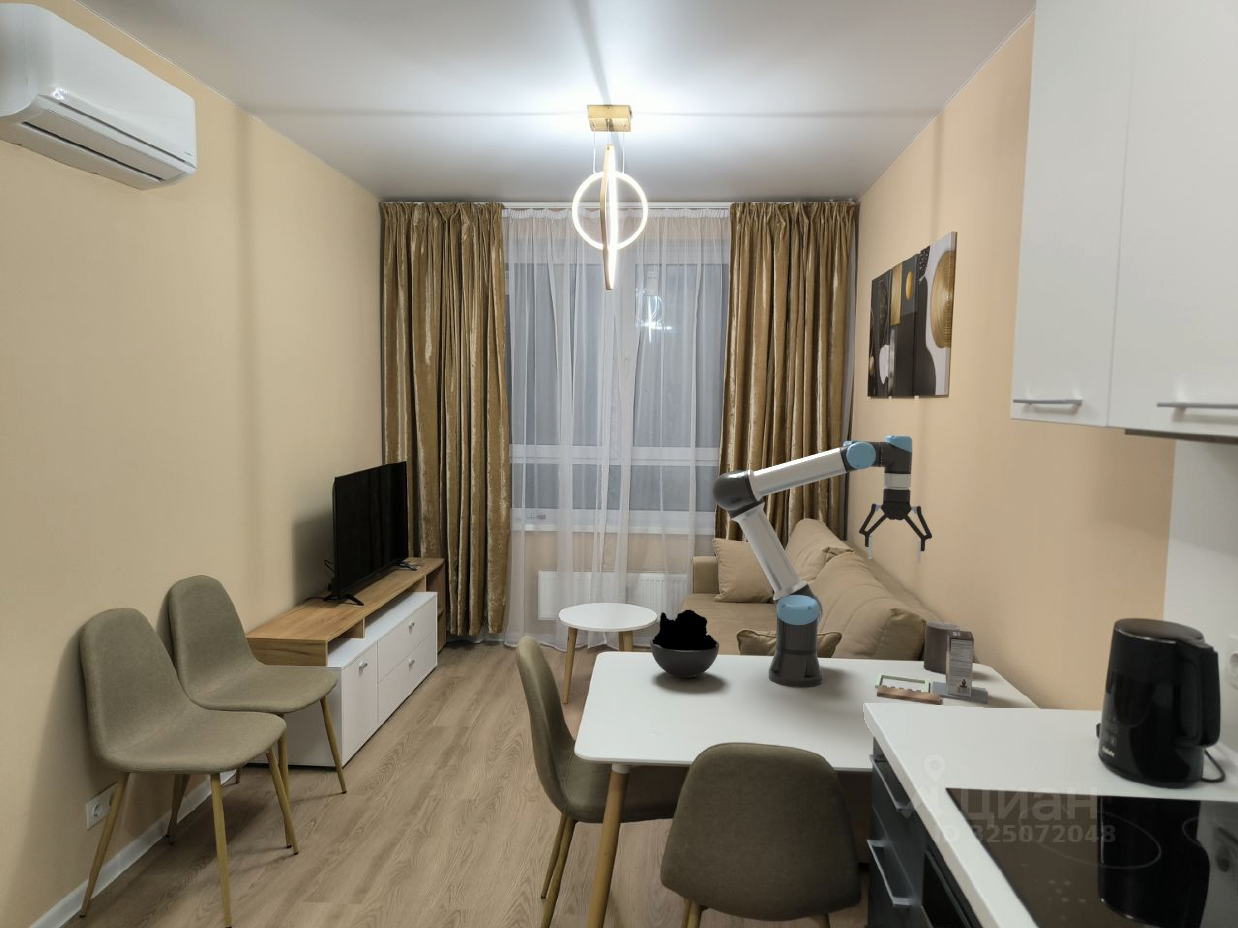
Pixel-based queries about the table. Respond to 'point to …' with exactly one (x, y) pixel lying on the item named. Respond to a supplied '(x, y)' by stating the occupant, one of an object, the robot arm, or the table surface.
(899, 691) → the walnut ticket board
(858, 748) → the table surface
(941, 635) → the pillar candle
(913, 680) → the sage stub frame
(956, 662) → the coffee box
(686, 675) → the coal bowl
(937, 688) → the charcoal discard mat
